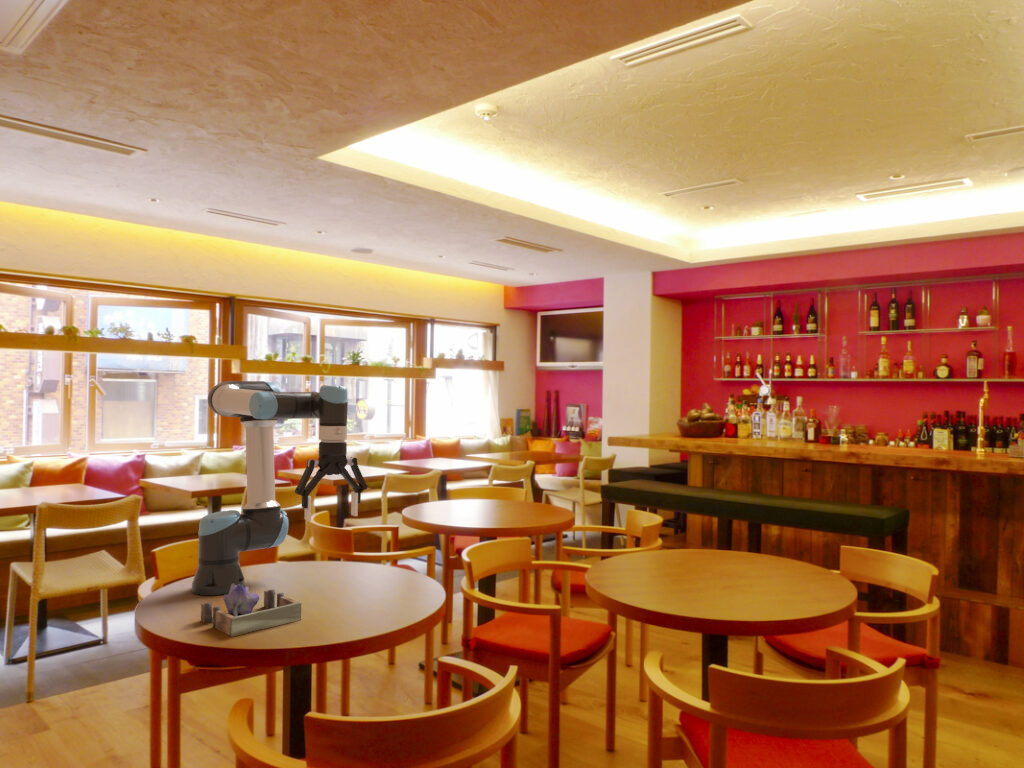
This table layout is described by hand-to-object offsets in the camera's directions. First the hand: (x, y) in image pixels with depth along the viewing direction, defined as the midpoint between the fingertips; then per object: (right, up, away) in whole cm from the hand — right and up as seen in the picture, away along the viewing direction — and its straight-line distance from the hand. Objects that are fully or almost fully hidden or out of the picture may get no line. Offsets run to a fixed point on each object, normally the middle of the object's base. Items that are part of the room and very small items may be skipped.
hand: (331, 517), depth 196 cm
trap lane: (-19, -26, -8) cm, 33 cm away
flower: (-24, -26, -4) cm, 36 cm away
